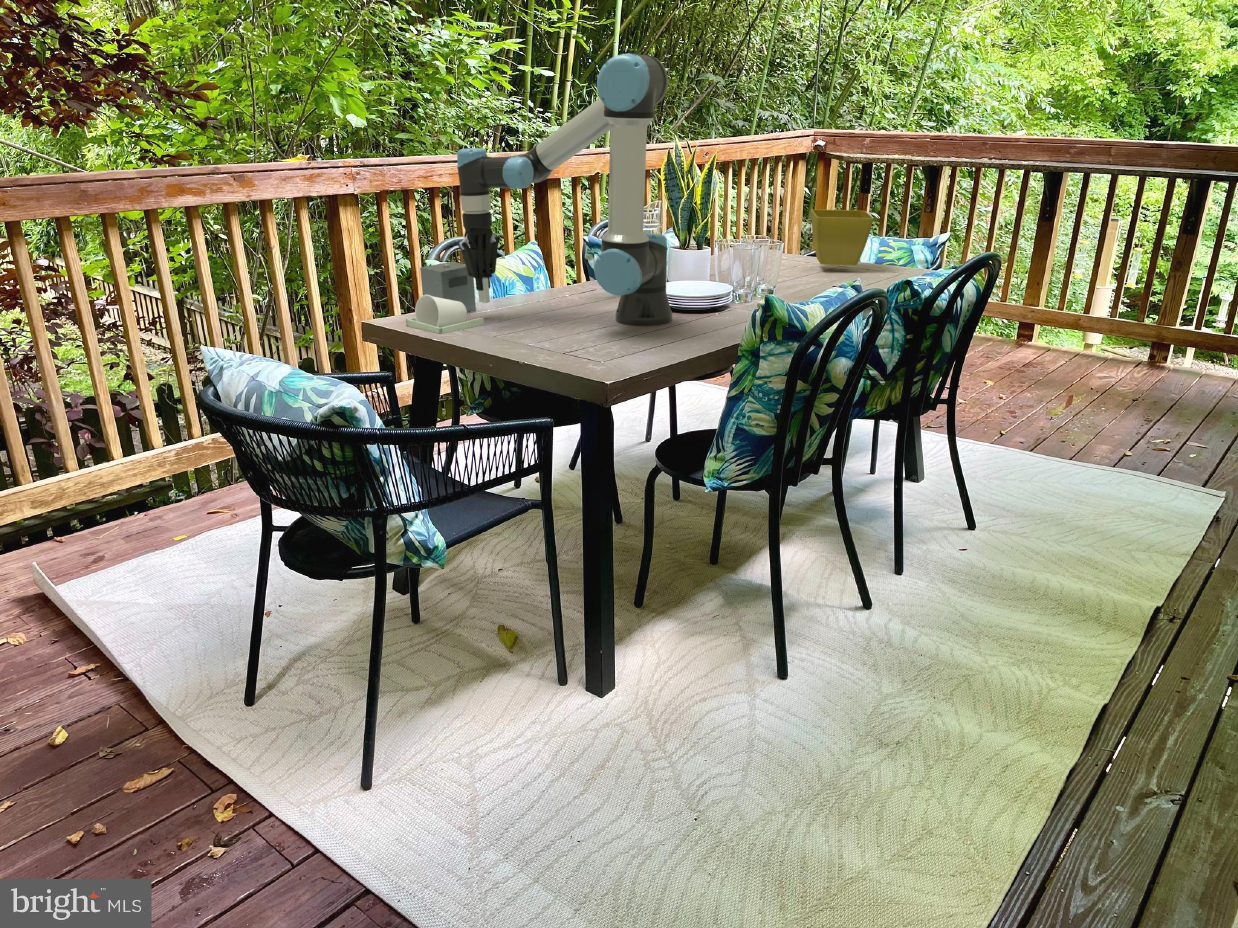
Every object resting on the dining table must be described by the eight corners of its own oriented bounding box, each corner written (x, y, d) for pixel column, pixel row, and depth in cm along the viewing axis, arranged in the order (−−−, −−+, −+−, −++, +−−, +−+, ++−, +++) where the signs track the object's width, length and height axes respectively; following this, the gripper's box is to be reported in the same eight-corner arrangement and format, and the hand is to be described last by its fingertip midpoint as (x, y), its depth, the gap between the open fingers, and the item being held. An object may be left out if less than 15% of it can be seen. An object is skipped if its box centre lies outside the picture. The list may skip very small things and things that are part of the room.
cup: (477, 322, 232) (443, 324, 223) (455, 338, 238) (422, 340, 230) (465, 287, 233) (431, 288, 224) (443, 304, 239) (410, 304, 231)
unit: (476, 312, 250) (473, 263, 245) (445, 319, 243) (441, 269, 237) (454, 307, 256) (451, 259, 251) (423, 314, 249) (419, 265, 243)
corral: (484, 329, 234) (483, 317, 233) (441, 340, 224) (440, 328, 223) (449, 320, 242) (449, 309, 241) (407, 330, 233) (405, 319, 231)
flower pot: (860, 257, 323) (865, 209, 316) (868, 268, 305) (874, 217, 299) (807, 256, 325) (810, 209, 318) (812, 267, 307) (816, 217, 300)
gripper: (486, 208, 237) (493, 295, 247) (447, 213, 229) (456, 304, 238) (505, 209, 233) (511, 299, 242) (466, 215, 224) (475, 308, 233)
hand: (484, 301), depth 240 cm, fingers closed
